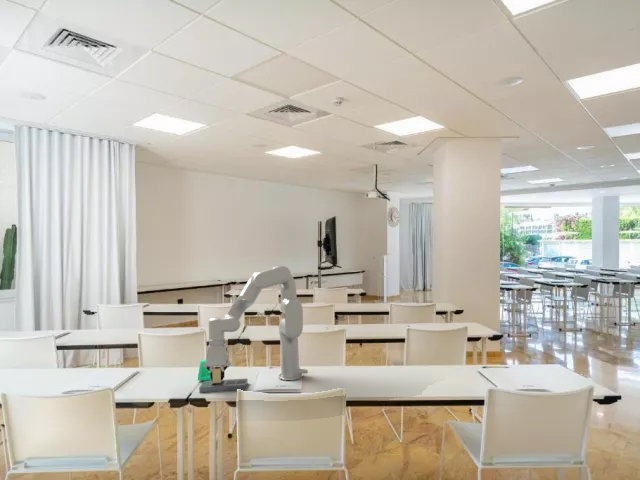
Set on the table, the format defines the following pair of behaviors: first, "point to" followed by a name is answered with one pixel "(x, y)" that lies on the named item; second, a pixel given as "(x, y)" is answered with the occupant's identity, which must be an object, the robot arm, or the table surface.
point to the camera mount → (203, 372)
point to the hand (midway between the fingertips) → (217, 379)
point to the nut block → (216, 374)
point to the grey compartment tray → (223, 385)
